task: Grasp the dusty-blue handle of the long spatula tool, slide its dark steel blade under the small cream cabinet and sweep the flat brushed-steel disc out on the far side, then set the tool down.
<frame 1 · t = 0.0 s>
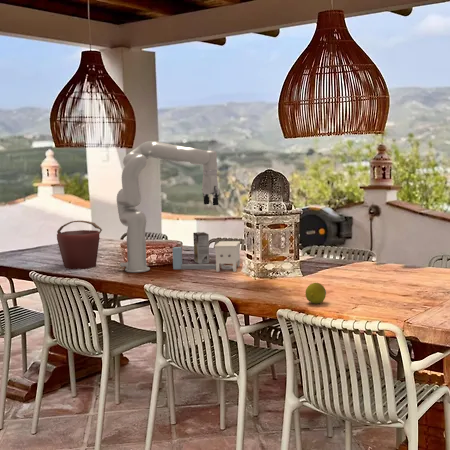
hand: (211, 204, 353), 31 cm above the table, tool pointing down, fingers open, 9 cm apart
cabinet: (228, 268, 332), on the table
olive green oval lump: (316, 303, 252), on the table
steel token: (227, 269, 333), on the table
spatula tool: (177, 268, 336), on the table
bucket: (80, 267, 350), on the table
coffee box: (201, 262, 354), on the table
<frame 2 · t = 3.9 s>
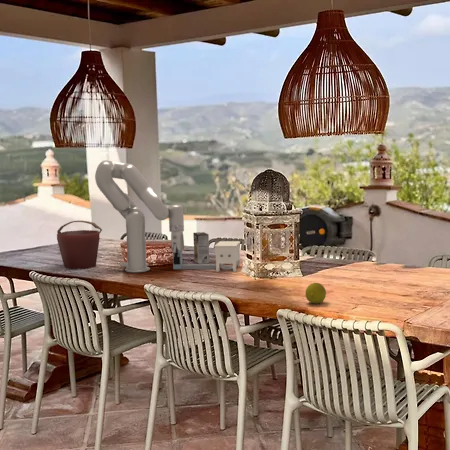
hand: (177, 263, 336), 3 cm above the table, tool pointing down, fingers closed on spatula tool, 4 cm apart
spatula tool: (178, 268, 336), on the table, touching gripper
everything else where it was.
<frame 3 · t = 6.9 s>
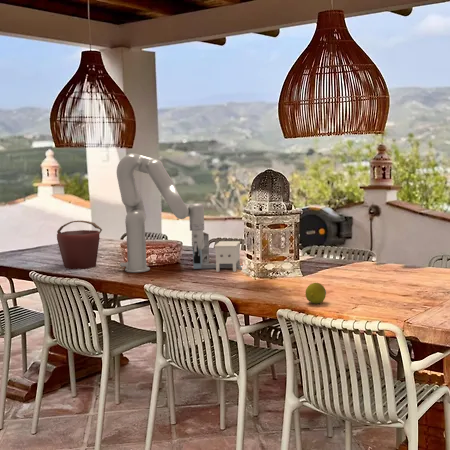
hand: (198, 262, 334), 3 cm above the table, tool pointing down, fingers closed on spatula tool, 4 cm apart
steel token: (242, 268, 332), on the table
spatula tool: (198, 268, 335), on the table, touching gripper
everything else where it was.
when the fingers open (3 cm above the table, at t = 10.7 s): spatula tool stays where it is, on the table.
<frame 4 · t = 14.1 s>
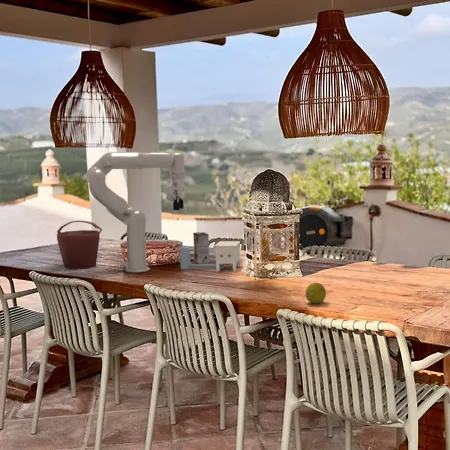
hand: (178, 209, 339), 30 cm above the table, tool pointing down, fingers open, 9 cm apart
steel token: (250, 269, 331), on the table
spatula tool: (185, 268, 336), on the table
everything else where it was.
at the end: steel token inside the target area (4.6 cm from its centre), on the table; the gripper is holding nothing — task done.
